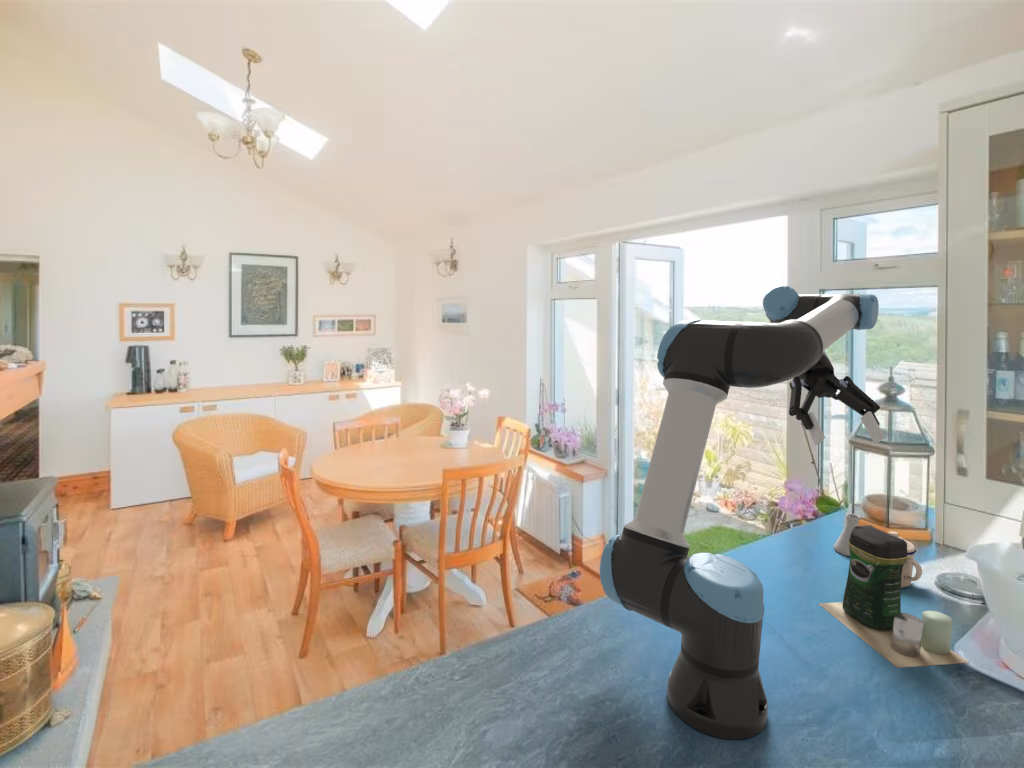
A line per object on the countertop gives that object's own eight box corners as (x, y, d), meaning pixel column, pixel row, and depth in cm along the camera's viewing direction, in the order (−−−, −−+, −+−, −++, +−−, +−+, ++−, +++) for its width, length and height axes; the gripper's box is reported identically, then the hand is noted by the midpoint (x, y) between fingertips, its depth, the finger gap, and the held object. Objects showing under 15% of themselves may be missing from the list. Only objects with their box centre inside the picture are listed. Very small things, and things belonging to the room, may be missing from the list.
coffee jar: (907, 629, 108) (918, 539, 105) (874, 634, 106) (884, 543, 103) (865, 603, 117) (874, 520, 115) (834, 608, 115) (842, 523, 113)
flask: (871, 558, 142) (875, 521, 140) (842, 558, 142) (846, 520, 141) (855, 546, 149) (859, 511, 148) (828, 545, 149) (831, 510, 148)
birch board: (896, 675, 97) (897, 667, 97) (817, 610, 117) (818, 603, 117) (968, 670, 98) (969, 662, 98) (878, 606, 119) (878, 600, 119)
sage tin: (923, 651, 101) (925, 621, 100) (917, 637, 105) (919, 608, 104) (952, 657, 99) (955, 626, 98) (946, 643, 103) (948, 613, 102)
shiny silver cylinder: (904, 658, 99) (907, 627, 98) (884, 643, 103) (888, 613, 103) (926, 656, 100) (930, 625, 99) (905, 641, 104) (909, 612, 103)
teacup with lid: (856, 572, 134) (861, 526, 133) (887, 568, 137) (892, 523, 135) (901, 597, 123) (907, 547, 121) (934, 592, 125) (940, 544, 123)
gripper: (850, 372, 134) (892, 448, 122) (753, 373, 131) (786, 450, 119) (869, 352, 128) (915, 430, 116) (767, 352, 125) (804, 432, 113)
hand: (850, 441), depth 117 cm, fingers open, 13 cm apart
